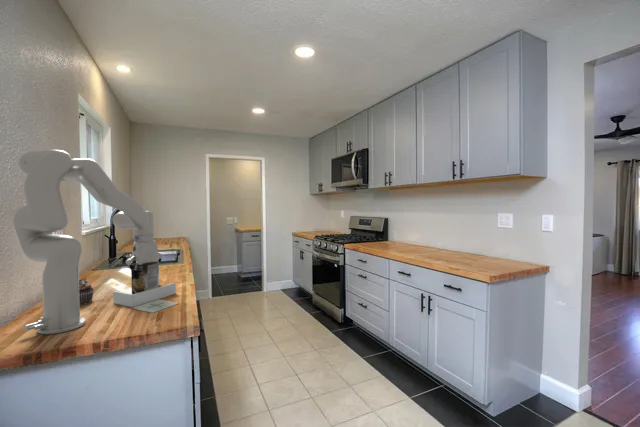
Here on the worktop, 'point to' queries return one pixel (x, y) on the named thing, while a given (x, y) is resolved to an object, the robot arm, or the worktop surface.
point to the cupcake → (85, 291)
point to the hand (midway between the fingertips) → (145, 276)
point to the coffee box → (145, 277)
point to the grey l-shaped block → (143, 295)
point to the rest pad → (155, 306)
